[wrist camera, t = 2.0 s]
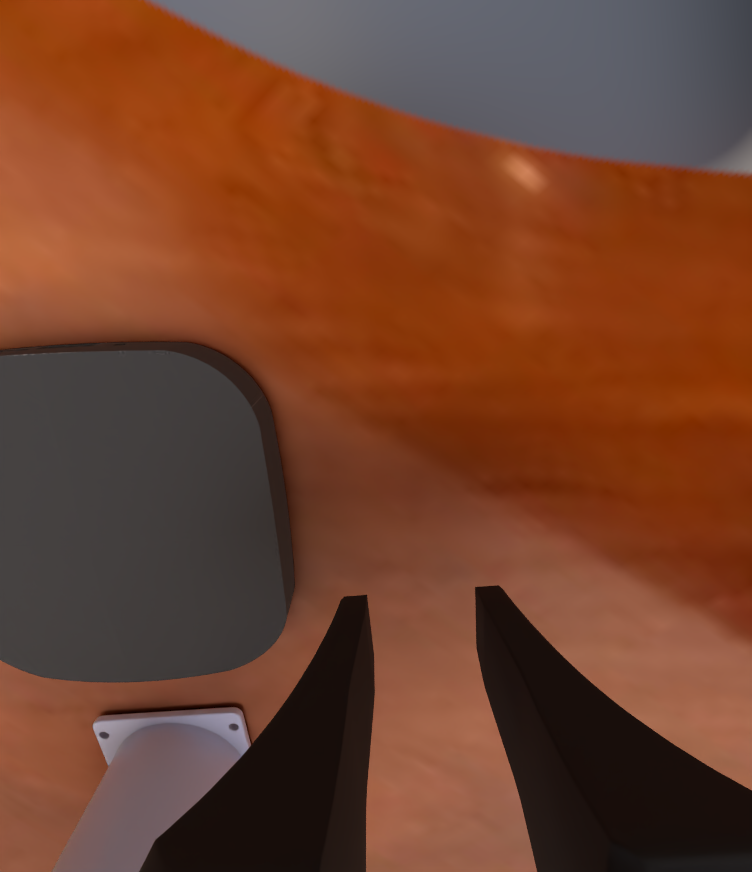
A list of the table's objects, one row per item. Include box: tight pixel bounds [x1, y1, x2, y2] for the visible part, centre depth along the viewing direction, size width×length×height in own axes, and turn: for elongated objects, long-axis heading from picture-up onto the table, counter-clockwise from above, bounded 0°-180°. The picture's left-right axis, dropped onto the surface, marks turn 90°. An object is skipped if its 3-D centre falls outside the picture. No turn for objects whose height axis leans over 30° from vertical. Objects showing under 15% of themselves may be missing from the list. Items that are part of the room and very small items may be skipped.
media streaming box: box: [0, 342, 295, 682], centre depth 19 cm, size 15×15×3 cm
